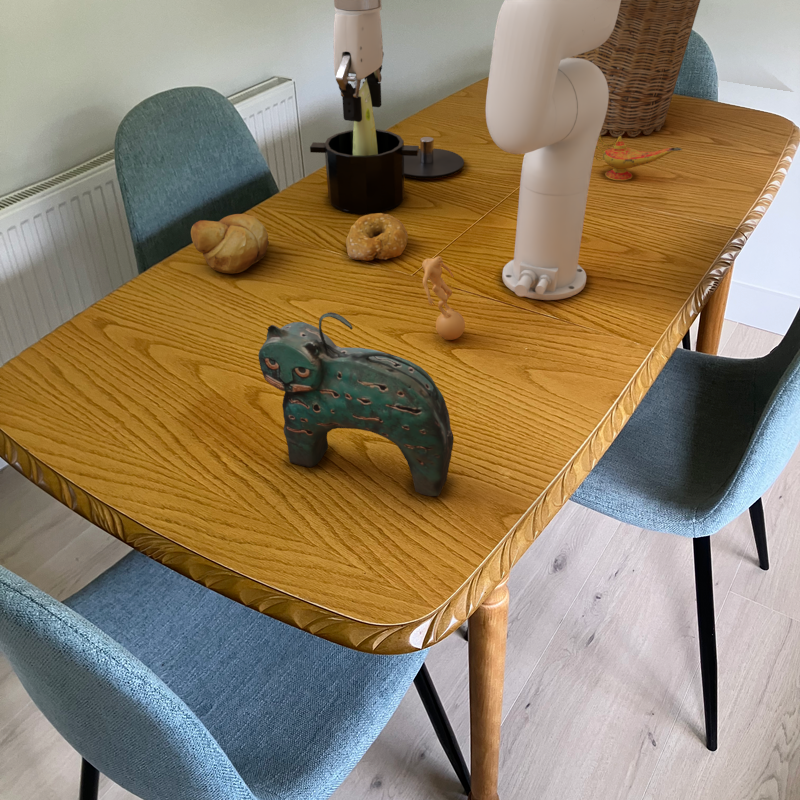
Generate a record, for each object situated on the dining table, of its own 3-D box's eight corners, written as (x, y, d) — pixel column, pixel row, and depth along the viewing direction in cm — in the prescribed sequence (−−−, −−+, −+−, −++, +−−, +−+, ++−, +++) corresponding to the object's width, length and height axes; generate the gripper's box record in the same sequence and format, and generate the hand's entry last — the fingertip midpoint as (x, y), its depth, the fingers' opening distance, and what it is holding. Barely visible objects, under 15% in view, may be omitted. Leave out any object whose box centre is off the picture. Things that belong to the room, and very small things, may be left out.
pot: (413, 216, 136) (413, 158, 129) (307, 212, 138) (302, 154, 131) (422, 185, 146) (422, 130, 140) (323, 182, 149) (319, 127, 142)
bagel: (331, 252, 126) (329, 225, 123) (377, 229, 132) (377, 203, 129) (374, 271, 120) (373, 244, 117) (421, 247, 127) (421, 220, 124)
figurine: (453, 356, 102) (456, 276, 94) (411, 347, 104) (410, 268, 96) (473, 324, 108) (476, 247, 100) (433, 316, 110) (433, 239, 102)
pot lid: (461, 183, 147) (462, 154, 144) (384, 180, 149) (383, 151, 145) (466, 154, 159) (467, 127, 155) (395, 152, 160) (394, 125, 157)
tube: (387, 196, 141) (384, 85, 129) (363, 203, 139) (358, 91, 126) (371, 186, 144) (366, 77, 132) (348, 192, 142) (341, 83, 130)
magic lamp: (671, 191, 143) (684, 131, 136) (576, 175, 149) (584, 118, 142) (678, 177, 147) (691, 119, 141) (586, 163, 154) (594, 107, 147)
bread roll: (244, 237, 130) (237, 192, 125) (289, 250, 126) (284, 204, 121) (191, 269, 122) (181, 222, 117) (238, 284, 118) (230, 236, 113)
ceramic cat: (271, 465, 86) (246, 312, 73) (297, 430, 90) (278, 280, 78) (440, 510, 80) (443, 352, 68) (458, 470, 85) (465, 315, 72)
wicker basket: (717, 148, 159) (761, -34, 138) (547, 150, 160) (566, -31, 139) (672, 96, 186) (703, -62, 166) (527, 98, 187) (541, -59, 167)
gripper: (359, -13, 129) (364, 96, 140) (310, 9, 116) (320, 126, 127) (400, -10, 127) (402, 100, 138) (355, 12, 114) (361, 132, 125)
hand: (362, 112), depth 132 cm, fingers closed on tube, 7 cm apart
